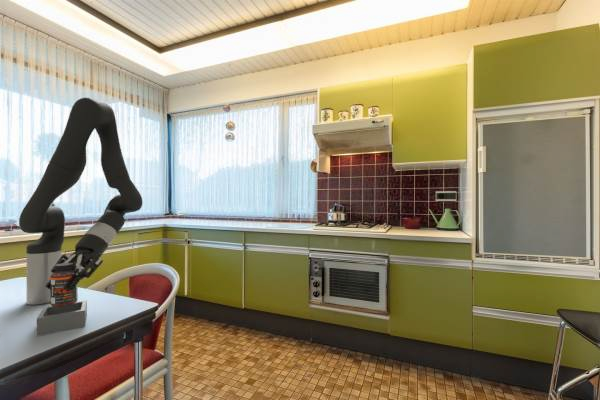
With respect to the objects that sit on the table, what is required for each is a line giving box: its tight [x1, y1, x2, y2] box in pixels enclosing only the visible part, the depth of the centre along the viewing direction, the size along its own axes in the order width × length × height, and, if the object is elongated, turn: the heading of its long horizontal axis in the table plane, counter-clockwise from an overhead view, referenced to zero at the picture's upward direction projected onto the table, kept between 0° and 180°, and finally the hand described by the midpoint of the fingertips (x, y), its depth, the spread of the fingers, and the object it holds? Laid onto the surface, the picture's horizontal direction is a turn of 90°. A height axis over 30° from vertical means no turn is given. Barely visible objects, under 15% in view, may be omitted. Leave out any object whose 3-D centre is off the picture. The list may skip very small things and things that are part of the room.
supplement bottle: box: [49, 263, 78, 307], centre depth 81 cm, size 6×6×11 cm
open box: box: [36, 299, 88, 337], centre depth 81 cm, size 10×10×4 cm
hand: (57, 288), depth 79 cm, fingers closed on supplement bottle, 6 cm apart
